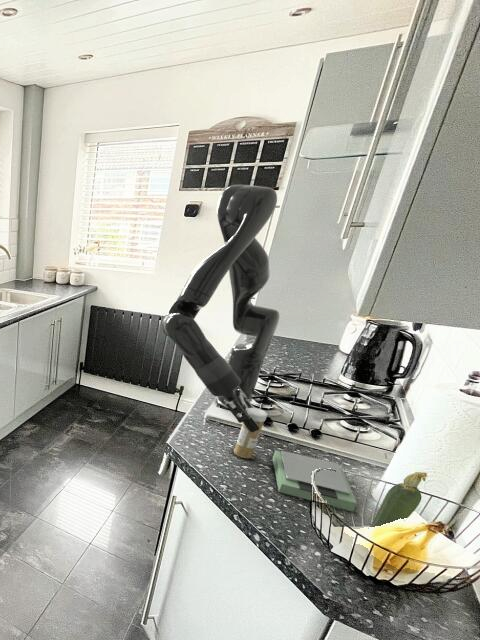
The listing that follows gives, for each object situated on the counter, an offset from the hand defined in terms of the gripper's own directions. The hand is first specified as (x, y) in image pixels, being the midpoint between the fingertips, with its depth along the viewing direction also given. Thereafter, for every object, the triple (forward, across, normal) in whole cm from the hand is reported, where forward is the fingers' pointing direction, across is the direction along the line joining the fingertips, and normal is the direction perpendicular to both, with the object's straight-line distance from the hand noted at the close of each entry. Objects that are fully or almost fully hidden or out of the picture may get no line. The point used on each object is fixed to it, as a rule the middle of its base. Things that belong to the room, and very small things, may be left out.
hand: (254, 423), depth 111 cm
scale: (+17, -6, -3) cm, 18 cm away
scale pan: (+15, -5, -4) cm, 16 cm away
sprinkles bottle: (+7, 0, +7) cm, 10 cm away
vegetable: (+23, -26, -8) cm, 35 cm away
